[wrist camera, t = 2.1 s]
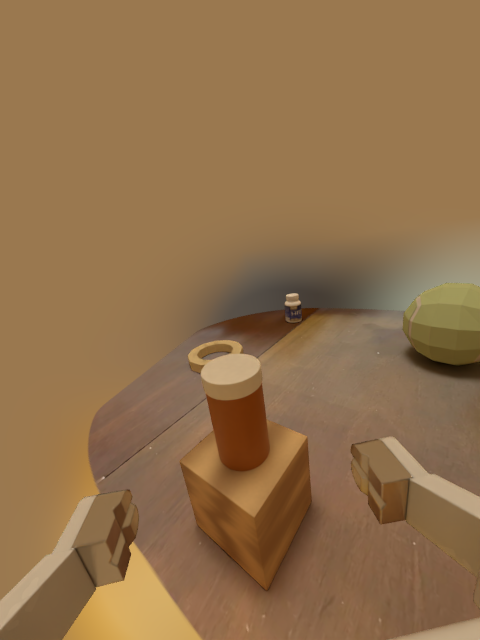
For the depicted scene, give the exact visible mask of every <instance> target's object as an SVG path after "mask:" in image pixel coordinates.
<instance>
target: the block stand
mask: <svg viewBox="0 0 480 640" xmlns="http://www.w3.org/2000/svg"><path fill="white" fill-rule="evenodd" d="M266 420H267V419H266ZM267 428H268V436H269V444H270V451H269V454H268V457H267V458H266V460H265V461H264V462H263V463H262V464H261V465H260V466H258V467H256V468H255V469H252V470H248V471H235V470H232V469H229V468H228V467H226V466H225V465H224V464H223V463H222V462H221V460H220V457H219V453H218V448H217V444H216V439H215V434H214V430H213V431H212V432H211V433H210V434H209V435H208V436H206V437H205V438H204V439H203V440H202V441H201V442H200V443H199V444H198V445H197V446H195V447H194V448H193V449H192V450H191V451H190V452H189V453H188V454H187V455H186V456H184V457H183V458H182V459H181V460H180V465H181V468H182V472H183V476H184V479H185V483H186V486H187V490H188V494H189V497H190V501H191V504H192V508H193V511H194V515H195V519H196V522H197V525H198V526H199V527H200V528H201V529H202V530H203V531H204V532H205V533H206V534H207V535H208V536H209V537H210V538H212V539H213V540H214V541H215V542H216V543H217V544H218V545H219V546H220V547H221V548H222V549H223V550H224V551H225V552H226V553H227V554H228V555H229V556H230V557H231V558H233V559H234V560H235V561H236V562H237V563H238V564H239V565H240V566H241V567H242V568H243V569H244V570H245V571H246V572H247V573H248V574H249V575H250V576H251V577H252V578H253V579H255V580H256V581H257V582H258V583H259V584H260V585H261V586H262V587H263V588H264V589H265V590H266V591H267V590H268V588H269V586H270V584H271V582H272V580H273V578H274V576H275V574H276V572H277V570H278V568H279V566H280V564H281V562H282V560H283V558H284V556H285V554H286V552H287V550H288V548H289V546H290V544H291V542H292V540H293V538H294V536H295V534H296V532H297V530H298V528H299V526H300V524H301V522H302V520H303V518H304V516H305V514H306V512H307V510H308V508H309V506H310V504H311V502H312V500H311V485H310V470H309V455H308V440H307V436H305V435H302V434H300V433H297V432H295V431H293V430H290V429H288V428H286V427H283V426H281V425H279V424H276V423H274V422H271V421H269V420H267Z"/></svg>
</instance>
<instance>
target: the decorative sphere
mask: <svg viewBox="0 0 480 640" xmlns="http://www.w3.org/2000/svg"><path fill="white" fill-rule="evenodd" d="M403 331H404V333H405V335H406V336H407V338H408V340H409V341H410V343H411V345H412V346H413V347H414V348H415V349H416V351H417V352H419V353H421V354H423V355H424V356H426V357H428V358H429V359H431V360H433V361H437V362H442V363H446V364H451V365H456V366H459V365H465V364H471V363H477V362H480V287H479V286H476V285H474V284H464V283H463V284H462V283H445V284H443V285H440V286H437V287H435V288H432V289H430V290H427V291H424V292H423V293H422V294H421V295H419V296H418V297H417V298H416V299H415V300H414V301H413V302H412V303H411V305H410V306H409V307H408V309H407V310H406V311H405V312H404V317H403Z"/></svg>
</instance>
